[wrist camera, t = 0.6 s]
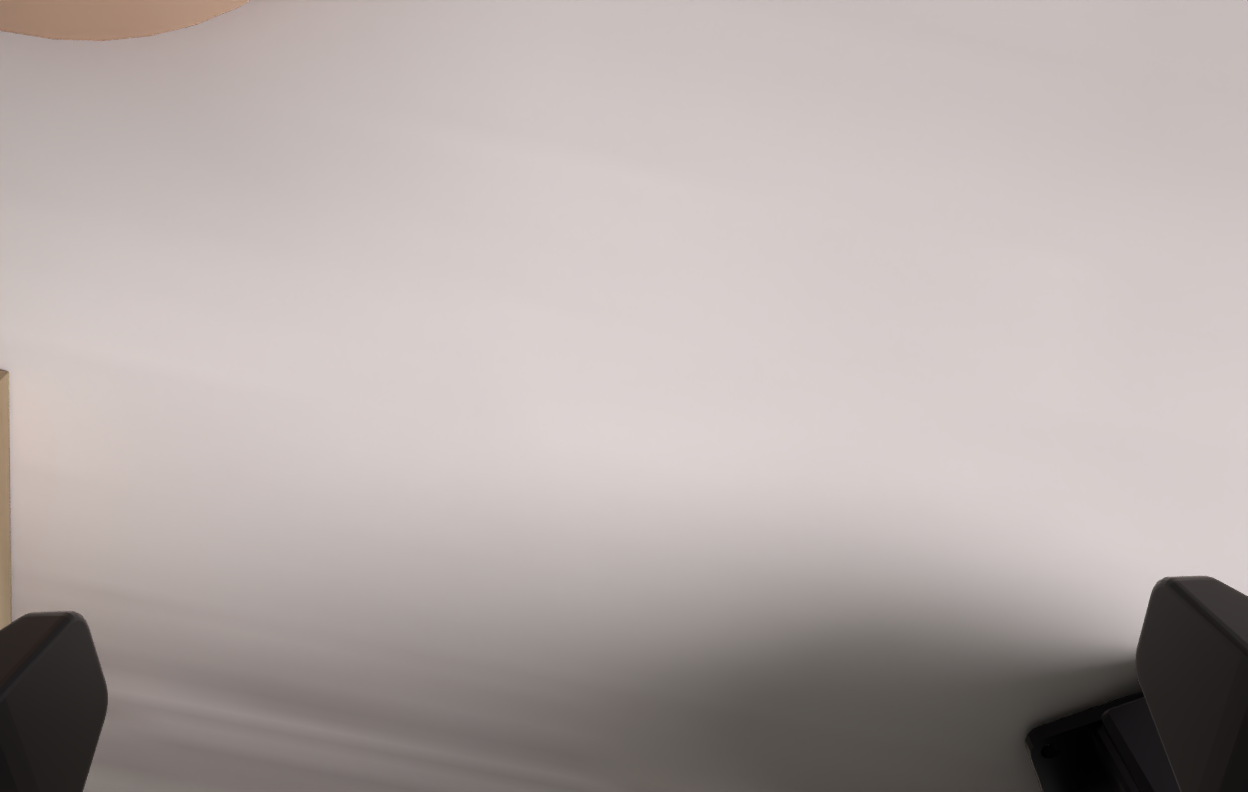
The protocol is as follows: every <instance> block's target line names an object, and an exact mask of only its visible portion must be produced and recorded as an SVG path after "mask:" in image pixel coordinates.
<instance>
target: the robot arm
mask: <svg viewBox="0 0 1248 792" xmlns="http://www.w3.org/2000/svg"><path fill="white" fill-rule="evenodd" d="M1136 672H1137V677H1138V680H1139V683H1140V686H1141V689H1142V692H1140V693H1137V694H1134V695H1131V696H1128V697H1125V698H1122V699H1119V700H1116V701H1113V702H1110V703H1107V704H1104V705H1101V706H1098V707H1095V708H1092V709H1089V710H1086V711H1083V712H1080V713H1077V714H1074V715H1071V716H1068V717H1065V718H1062V719H1059V720H1056V721H1053V722H1050V723H1047V724H1044V725H1041V726H1039V727H1037V728H1035V729H1033V730H1032V731H1031V732H1030V733H1029V734H1028V735H1027V737H1026V739H1025V746H1026V749H1027V751H1028V754H1029V757H1030V760H1031V762H1032V765H1033V768H1034V770H1035V773H1036V776H1037V779H1038V781H1039V784H1040V787H1041V790H1042V792H1248V596H1246V595H1244V594H1243V593H1241V592H1239V591H1237V590H1235V589H1233V588H1231V587H1230V586H1228V585H1226V584H1224V583H1222V582H1220V581H1218V580H1217V579H1214V578H1212V577H1208V576H1182V577H1165V578H1163V579H1161V580H1159V581H1158V582H1157V583H1156V585H1155V586H1154V588H1153V590H1152V593H1151V596H1150V600H1149V604H1148V608H1147V611H1146V615H1145V619H1144V623H1143V627H1142V631H1141V635H1140V638H1139V642H1138V646H1137V651H1136ZM107 705H108V693H107V686H106V681H105V678H104V675H103V672H102V668H101V665H100V662H99V659H98V655H97V652H96V649H95V645H94V642H93V639H92V636H91V632H90V629H89V626H88V624H87V622H86V620H85V619H84V617H83V616H82V615H80V614H79V613H76V612H74V611H57V612H34V613H29V614H25V615H24V616H22V617H20V618H18V619H17V620H15V621H14V622H12V623H10V624H9V625H7V626H6V627H4V628H3V629H1V630H0V792H83V790H84V786H85V783H86V780H87V776H88V773H89V770H90V766H91V763H92V760H93V756H94V753H95V750H96V746H97V743H98V740H99V736H100V733H101V730H102V726H103V723H104V720H105V716H106V712H107ZM1048 744H1049V745H1048ZM1046 745H1047V746H1046Z"/></svg>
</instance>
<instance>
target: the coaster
mask: <svg viewBox="0 0 1248 792" xmlns="http://www.w3.org/2000/svg"><path fill="white" fill-rule="evenodd" d="M248 1H250V0H0V30H1V31H6V32H12V33H18V34H24V35H31V36H37V37H43V38H49V39H63V40H93V41H106V40H115V39H125V38H135V37H145V36H152V35H156V34H160V33H164V32H168V31H172V30H176V29H180V28H184V27H189V26H193V25H196V24H199V23H201V22H203V21H206V20H208V19H211V18H213V17H216V16H218V15H221V14H223V13H225V12H228V11H230V10H233V9H235V8H238V7H240V6H241V5H243V4H245V3H246V2H248Z"/></svg>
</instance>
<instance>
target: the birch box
mask: <svg viewBox="0 0 1248 792" xmlns="http://www.w3.org/2000/svg"><path fill="white" fill-rule="evenodd" d="M10 623H11V552H10V456H9V372H7V371H2V370H0V630H1V629H3V628H4V627H6V626H7V625H9V624H10Z"/></svg>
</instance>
